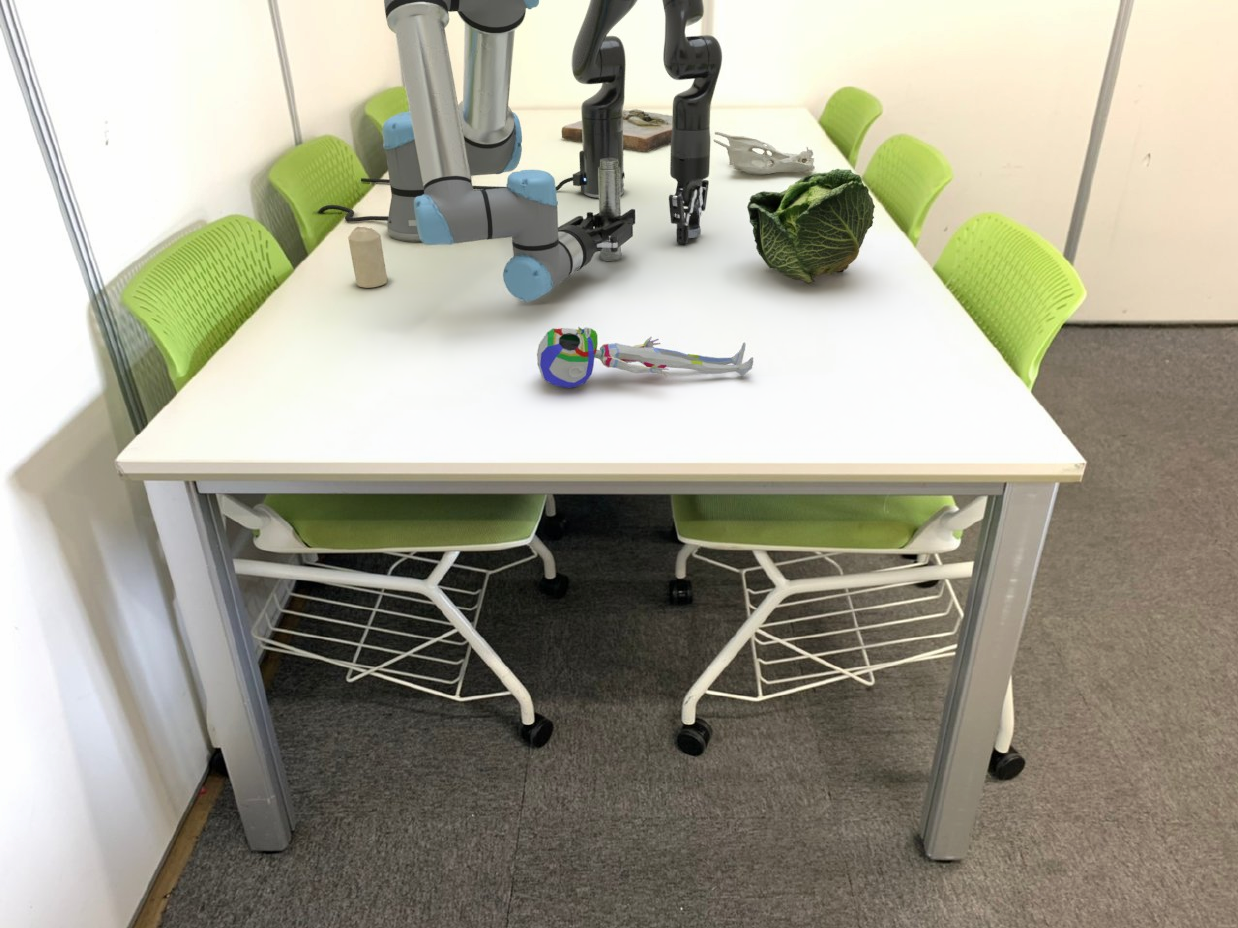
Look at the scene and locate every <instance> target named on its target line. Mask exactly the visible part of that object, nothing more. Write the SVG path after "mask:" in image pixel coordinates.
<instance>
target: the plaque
mask: <svg viewBox="0 0 1238 928" xmlns="http://www.w3.org/2000/svg"><path fill="white" fill-rule="evenodd" d="M672 118H673V115H669V114H663V113H659V112H650V111H644V110H642V109H637V108H636V109H635V108H634V109H630V110H629V109H623V149H625V150H632V151H640V152H648V151H654V150H656V149H659V148H662V147H663V146H664V147H665V146H667V145H670V144H671V135H672V127H673V126H672ZM561 138H562V139H563V140H568V141H573V142H581V143H583V140H582V120H579V121H577V122H573V123H569V124H567V125H564V126H562V127H561Z"/></svg>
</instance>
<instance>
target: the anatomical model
mask: <svg viewBox="0 0 1238 928" xmlns="http://www.w3.org/2000/svg"><path fill="white" fill-rule="evenodd" d="M714 135H717V136H721V137H723V138H726V139H727V140H728V144H729V145H728V144H725V143H724V142H721V140H717V139H713V142H714V143H716V144H718V145H719V146H721V147H724V148H726V150H727V156H728V159H729V164H728V165H729V166H733V169H734V170H736V171H739V172H740V171H742V172H745V173H746V174H749V175H756V176H757V175H758V176H759V175H770V174H775V173H781V172H782V173H783V172H787V173H790V172H792V173H793V172H794V173H803V174H804V173H807V172H808V173H809V172H813V171H814V170H815V165H814V163H815V158H813V155H814V151H813V149H809V147H808V146H806V151H805V150H803V151H801V152H800V153H789V152H781V151H779V150H777V149H776V148H775V147H774V146H772V144H769V143H766V142H764V141H761V140H759V139H756V138H752V137H747V136H742V135H741V136H740V135H731V134H727V133H724V132H719V131H715V132H714ZM753 149H760V150H762V151H763V153H758V152H756V151H754V150H753ZM768 152H770V153H771V154H768Z"/></svg>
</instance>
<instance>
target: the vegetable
mask: <svg viewBox="0 0 1238 928" xmlns="http://www.w3.org/2000/svg"><path fill="white" fill-rule="evenodd" d="M869 192H870V190H869V187H867V185H864V183H863V180H862V177H861V175H860V174H857V173H854V172H853V171H852V169H841V168H836V169H832V170H830V171H828V172H817V173H812V174H807V175H806V176H804V177H802V178H800V179H799V180H796V181H795V183H793V184H791V185H789V186H788V188H787V189H785V190H783V191H779V192H777V191H767V190H762V191H760V192H757V193H755V194H754V195H751V196H750V197H749V202H748V204H747V206H746V208H747V212H748V216H749V223H750V225H751V226H752V234H753V237H754V242H755V244H756V246H755V249H756V251H757V253H758V254H759V256H760V257H761V259H762V260H763V262H764V263H765V264H766V266H767V267H768V268H769V269H771V270H772V269H774V270H776V271H777V272H778V273H780V274H781V275H784V276H785V277H787V278H790V279H792V280H799V281H805V282H806V283H807V284H810V283H811V282H815V279H814V277H817V276H819V275H824V274H828V275H833V274H834V273H837V274H839V273H842V274H843V273H844V271H845V270H848V268H849V266H850V265H851V264H852V263H853V262H854V261H855V260H856V259H857V258H858V256H859V253H860V248H861V247H862V245H863V243H864V240H865V239H866V235H867V233H868V230H869V229H871V228H872V227H873V223H874V219H875V216H874V212H875V208H876V206H875V204H874V200H873V197H872V196H871V195H870V193H869Z"/></svg>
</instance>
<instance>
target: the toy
mask: <svg viewBox="0 0 1238 928" xmlns="http://www.w3.org/2000/svg"><path fill="white" fill-rule="evenodd" d="M577 327H578V328H577V329H576V328H571V327H570V328H568V327H567V328H565V327H564V328H562V327H561V328H551V329H550V330H548V331H547V332H546V334H545V335H544V336H543V338H542V339H541V341H540V342H539V343H538V347H537V350H536V351H537V352H536V358H537V360H536V361H537V367H538V370H539V373H540V377H541V378H542V380H544V381H546V382H547V383H549V384H551V385H553V386H557V387H561V388H569V389H573V388H576V387H578V386H580V385H582V384H585V383H586V382H587V381H588V380H589V379H590V377H591V376H592V374H593V369H594V366H595V359H598V360H600V362H601V364H602V365H603V366H605V367H606V368H608V369H609V368H611V369H612V368H613V369H619V370H623V371H626V372H629V373H633V374H656V375H661V376H665V377H668V375H671V373H670V372H668V371H669V368H671V369H685V370H693V371H697V372H700V373H703V374H706V375H710V374H712V375H715V374H719V375H720V374H726V373H733V372H736V373H737V374H740V375H741V376H745V375H746V374H747V373H748V372H749V371H751V370H752V369H753V366H754V357H753V356H752V357H750V358H749V359H748V360H747V361H745V362H743V361H744V354H745V351H746V342H743V343H742V345H741V348H740V349H739V350H738V352H737V353H735V355H733V356H732V357H731V356H730V357H716V356H714V357H713V356H707V355H700V354H690V353H688V354H687V353H684V352H681V351H677V350H673V349H672V350H671V349H665V348H661V347H654V346H656V345H657V346H658V345H661V342H657V341H659V338H656V339H653V340H652V338H653V337H652V336H650V337H649V338H647V339H646V340H645V342H643V344H636V345H626V344H621V343H617V342H614V343H604V344H602V345H601V346H600V347H599V349H598V333H597V331H596V330H594V329H593V328H591V327H590V328H589V327H584V328H581V327H580V326H577ZM631 363H641V364H642V365H639V364H631ZM643 365H644V366H643ZM665 370H666V371H665Z"/></svg>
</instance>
